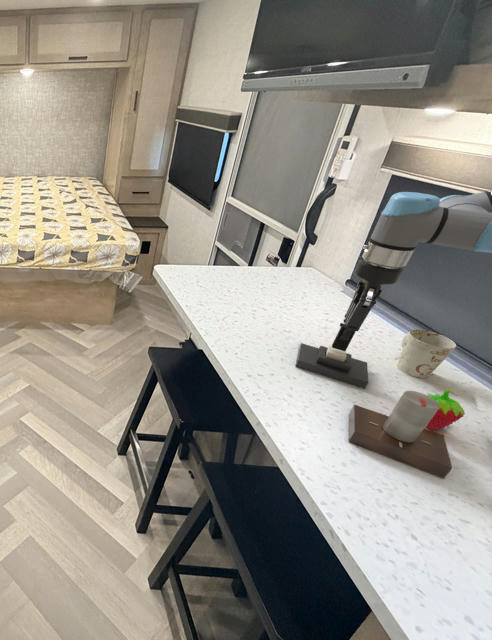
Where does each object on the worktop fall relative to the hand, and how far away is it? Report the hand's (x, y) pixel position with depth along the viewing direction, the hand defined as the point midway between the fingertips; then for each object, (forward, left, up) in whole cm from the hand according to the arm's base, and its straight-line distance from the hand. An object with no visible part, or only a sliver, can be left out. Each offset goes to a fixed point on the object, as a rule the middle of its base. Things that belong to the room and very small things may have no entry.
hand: (338, 348), depth 101 cm
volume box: (-11, +23, -6) cm, 26 cm away
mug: (-16, -14, -7) cm, 22 cm away
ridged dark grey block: (0, 0, -6) cm, 6 cm away
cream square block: (0, 0, -3) cm, 3 cm away
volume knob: (-11, +23, -3) cm, 26 cm away
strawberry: (-17, +12, -7) cm, 22 cm away
